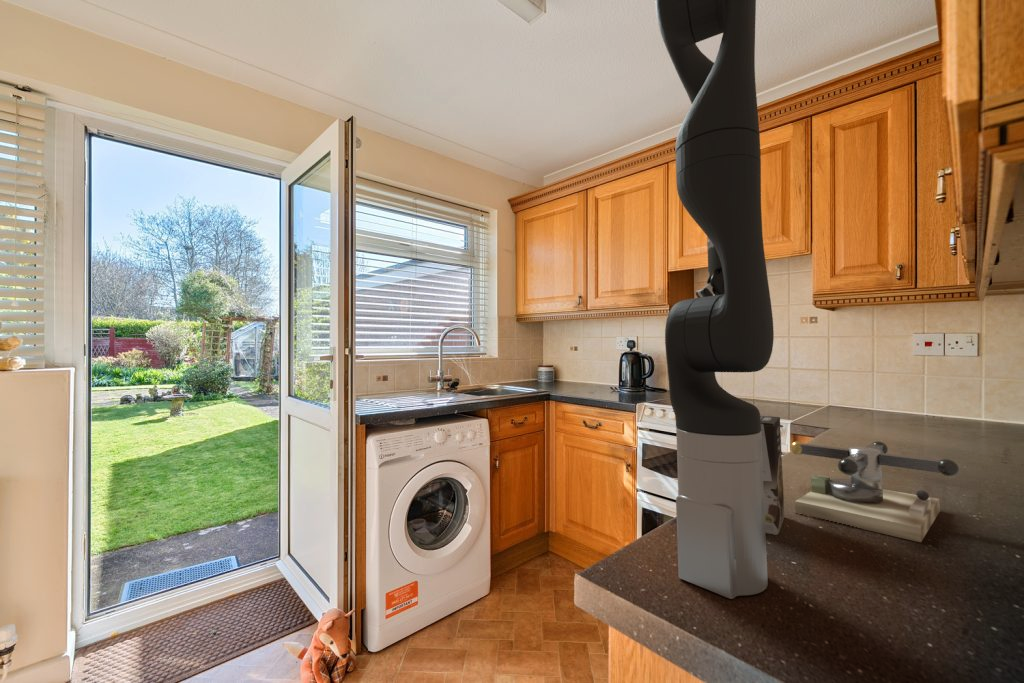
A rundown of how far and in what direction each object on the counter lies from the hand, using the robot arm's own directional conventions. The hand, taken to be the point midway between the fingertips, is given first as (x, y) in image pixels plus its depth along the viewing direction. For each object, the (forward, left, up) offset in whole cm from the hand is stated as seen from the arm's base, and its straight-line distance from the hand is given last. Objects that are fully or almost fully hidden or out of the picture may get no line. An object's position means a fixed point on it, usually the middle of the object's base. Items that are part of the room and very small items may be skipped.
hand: (733, 340), depth 78 cm
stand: (+10, -16, -29) cm, 34 cm away
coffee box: (-7, -6, -29) cm, 30 cm away
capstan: (+10, -16, -26) cm, 32 cm away
